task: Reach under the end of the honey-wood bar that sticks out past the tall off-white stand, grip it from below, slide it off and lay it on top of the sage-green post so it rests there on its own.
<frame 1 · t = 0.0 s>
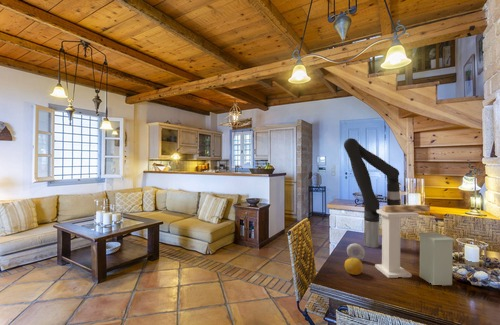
hand: (394, 222, 160), 17 cm above the table, tool pointing down, fingers open, 8 cm apart
green post: (435, 280, 119), on the table
tall stand: (396, 271, 129), on the table
donut: (355, 260, 143), on the table
fruit: (353, 274, 127), on the table
wooden bar: (406, 211, 128), point 32 cm above the table, touching tall stand
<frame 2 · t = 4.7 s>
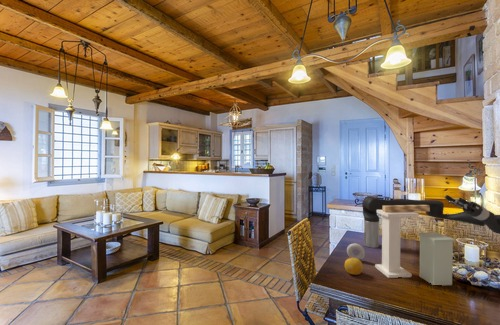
hand: (452, 197, 137), 37 cm above the table, tool pointing upward, fingers open, 8 cm apart
nothing on the table moved.
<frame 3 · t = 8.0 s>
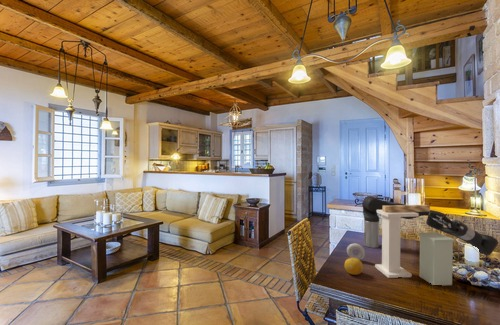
hand: (435, 215, 129), 29 cm above the table, tool pointing upward, fingers open, 8 cm apart
nothing on the table moved.
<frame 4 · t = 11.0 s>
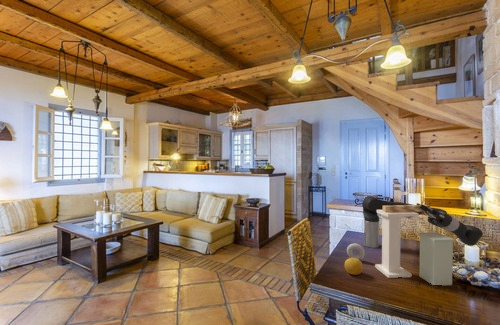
hand: (418, 205, 128), 35 cm above the table, tool pointing upward, fingers closed on wooden bar, 2 cm apart
wooden bar: (406, 211, 128), point 32 cm above the table, touching gripper, tall stand
everything else where it was.
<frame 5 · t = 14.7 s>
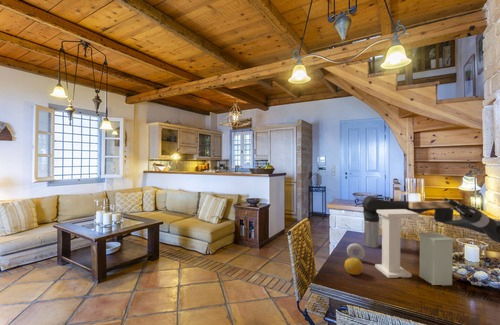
hand: (446, 200, 121), 39 cm above the table, tool pointing upward, fingers closed on wooden bar, 2 cm apart
wooden bar: (433, 207, 121), point 35 cm above the table, touching gripper
everything else where it was.
when the fingers open (26 cm above the table, at t = 18.4 s): wooden bar stays where it is, resting on green post.
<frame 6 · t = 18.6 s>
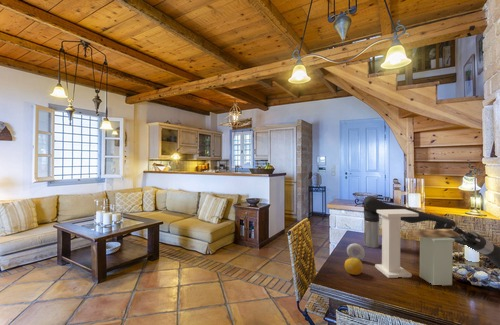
hand: (450, 226, 119), 26 cm above the table, tool pointing upward, fingers open, 4 cm apart
wooden bar: (436, 236, 119), point 22 cm above the table, touching green post
everything else where it was.
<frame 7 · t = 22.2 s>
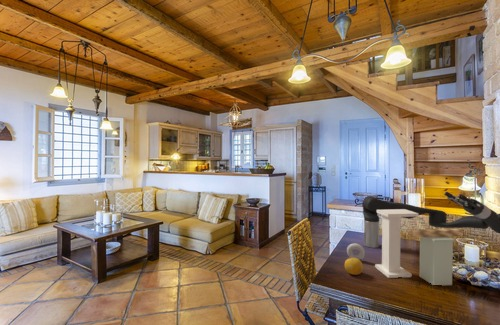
hand: (452, 194, 130), 40 cm above the table, tool pointing upward, fingers open, 8 cm apart
nothing on the table moved.
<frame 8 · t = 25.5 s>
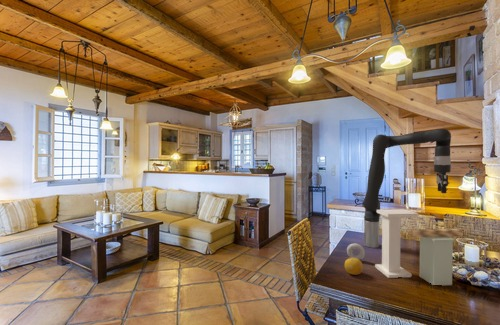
hand: (441, 192, 140), 40 cm above the table, tool pointing down, fingers open, 8 cm apart
nothing on the table moved.
at the end: wooden bar inside the target area on the green post (0.3 cm from its centre), point 22.0 cm above the green post's base; wooden bar touching green post; the gripper is holding nothing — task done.
